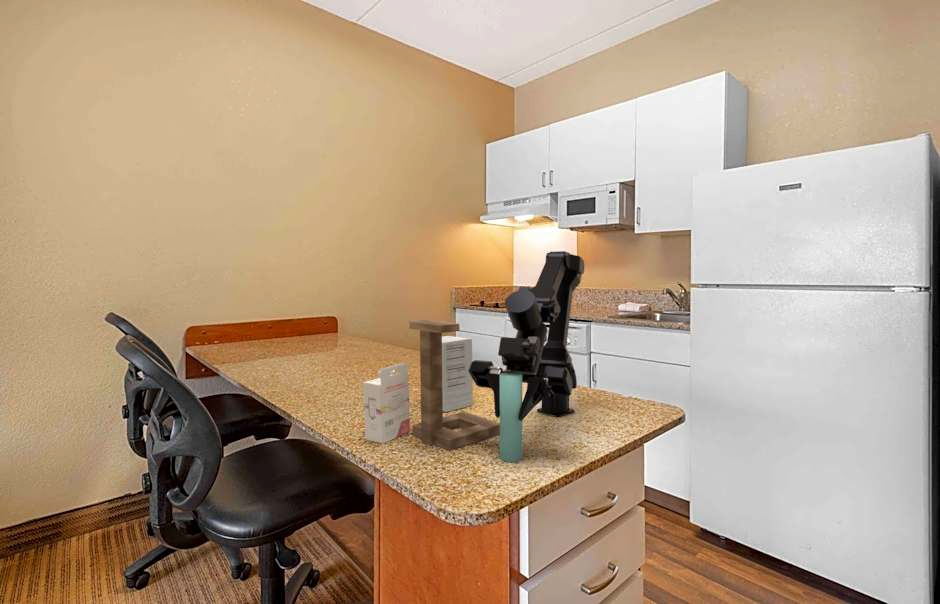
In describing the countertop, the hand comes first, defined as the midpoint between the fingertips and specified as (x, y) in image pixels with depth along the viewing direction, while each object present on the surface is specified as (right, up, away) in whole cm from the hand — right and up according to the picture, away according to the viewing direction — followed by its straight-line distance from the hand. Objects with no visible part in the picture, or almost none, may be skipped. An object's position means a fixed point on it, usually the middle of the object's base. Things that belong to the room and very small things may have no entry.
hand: (508, 418), depth 83 cm
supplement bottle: (-26, -6, +29) cm, 39 cm away
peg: (+1, -8, +2) cm, 8 cm away
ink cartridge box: (-23, -7, +14) cm, 28 cm away
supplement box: (-12, -6, +36) cm, 38 cm away
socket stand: (-9, -7, +14) cm, 18 cm away
